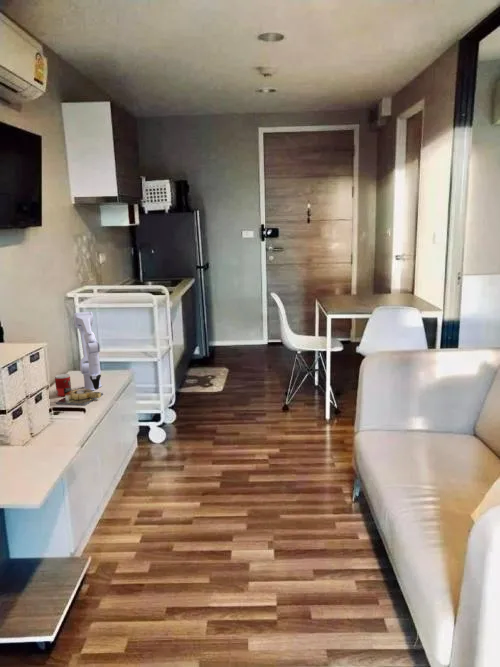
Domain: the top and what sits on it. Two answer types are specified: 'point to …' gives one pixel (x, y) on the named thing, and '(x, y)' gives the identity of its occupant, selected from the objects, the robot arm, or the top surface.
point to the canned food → (63, 384)
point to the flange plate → (69, 401)
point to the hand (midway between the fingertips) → (96, 388)
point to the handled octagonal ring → (84, 394)
